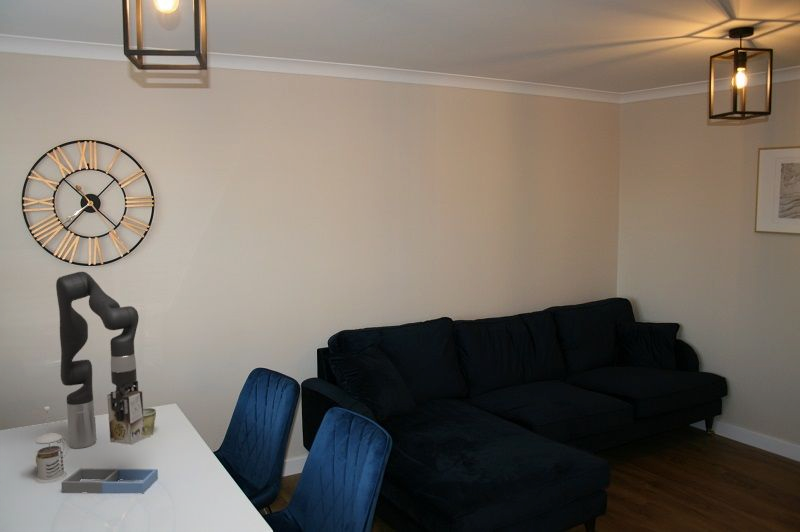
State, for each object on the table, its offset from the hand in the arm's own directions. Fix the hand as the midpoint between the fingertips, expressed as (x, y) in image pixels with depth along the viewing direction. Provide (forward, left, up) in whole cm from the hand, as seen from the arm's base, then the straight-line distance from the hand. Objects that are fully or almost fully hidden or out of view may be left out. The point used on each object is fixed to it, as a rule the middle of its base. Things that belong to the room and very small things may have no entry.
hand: (126, 416), depth 207 cm
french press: (-7, -30, -24) cm, 39 cm away
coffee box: (0, 0, -8) cm, 8 cm away
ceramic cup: (-47, -16, -24) cm, 55 cm away
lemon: (-12, -36, -24) cm, 45 cm away
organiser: (0, -6, -24) cm, 24 cm away
